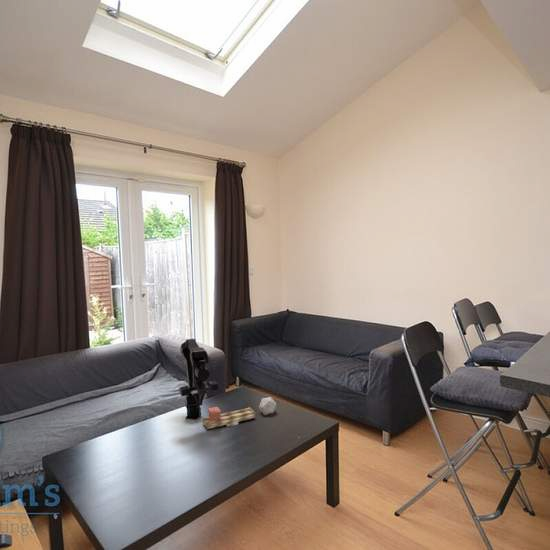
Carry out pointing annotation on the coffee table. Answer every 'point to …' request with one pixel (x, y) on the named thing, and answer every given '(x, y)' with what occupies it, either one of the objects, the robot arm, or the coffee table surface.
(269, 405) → the die
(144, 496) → the coffee table surface
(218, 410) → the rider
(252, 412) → the beam
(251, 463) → the coffee table surface
